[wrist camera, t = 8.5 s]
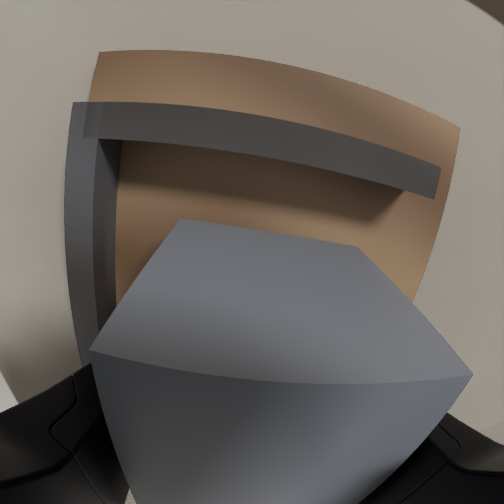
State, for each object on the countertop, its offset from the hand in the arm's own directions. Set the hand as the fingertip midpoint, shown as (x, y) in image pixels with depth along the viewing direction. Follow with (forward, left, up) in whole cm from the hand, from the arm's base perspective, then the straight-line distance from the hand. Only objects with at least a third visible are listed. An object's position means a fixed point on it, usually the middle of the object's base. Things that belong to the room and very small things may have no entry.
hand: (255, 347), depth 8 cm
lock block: (0, 0, -1) cm, 1 cm away
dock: (0, 0, -3) cm, 3 cm away
